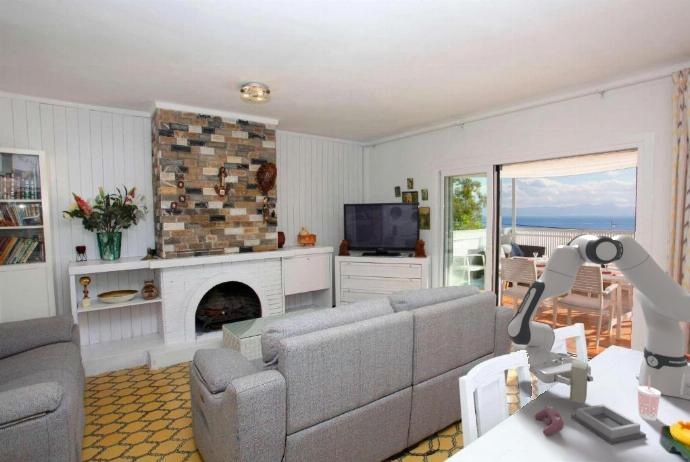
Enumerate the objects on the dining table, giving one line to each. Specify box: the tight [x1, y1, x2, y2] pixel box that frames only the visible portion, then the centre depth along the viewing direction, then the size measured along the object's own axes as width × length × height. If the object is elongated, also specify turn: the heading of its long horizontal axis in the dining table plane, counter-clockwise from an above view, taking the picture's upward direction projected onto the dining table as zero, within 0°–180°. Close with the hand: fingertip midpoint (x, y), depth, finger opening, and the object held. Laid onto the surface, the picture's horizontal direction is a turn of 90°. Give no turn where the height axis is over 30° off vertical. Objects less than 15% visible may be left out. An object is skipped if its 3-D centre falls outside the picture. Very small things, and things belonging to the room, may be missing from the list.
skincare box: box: [569, 360, 589, 405], centre depth 125 cm, size 6×4×12 cm
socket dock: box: [570, 403, 647, 445], centre depth 115 cm, size 13×14×4 cm
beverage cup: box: [636, 375, 662, 421], centre depth 121 cm, size 6×6×14 cm
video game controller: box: [534, 406, 565, 437], centre depth 115 cm, size 10×5×7 cm, turn 169°
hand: (581, 381), depth 124 cm, fingers closed on skincare box, 7 cm apart
